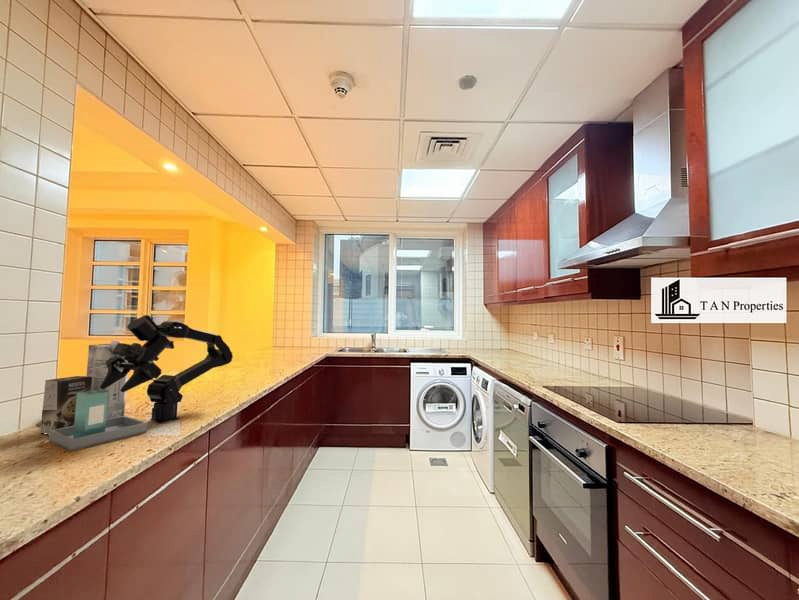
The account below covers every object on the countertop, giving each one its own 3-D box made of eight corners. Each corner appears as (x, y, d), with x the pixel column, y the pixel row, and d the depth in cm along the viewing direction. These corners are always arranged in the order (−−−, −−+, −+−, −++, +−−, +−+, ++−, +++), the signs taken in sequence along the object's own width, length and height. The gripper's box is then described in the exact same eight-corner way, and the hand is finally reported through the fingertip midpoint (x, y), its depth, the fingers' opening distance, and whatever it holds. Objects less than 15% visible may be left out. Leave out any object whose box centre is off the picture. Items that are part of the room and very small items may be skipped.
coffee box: (55, 436, 101) (60, 381, 102) (39, 434, 102) (43, 379, 103) (89, 427, 110) (93, 376, 111) (73, 425, 111) (77, 375, 112)
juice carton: (99, 425, 112) (105, 342, 113) (78, 421, 115) (84, 340, 116) (128, 418, 120) (134, 340, 121) (108, 415, 123) (113, 339, 125)
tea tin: (94, 434, 102) (97, 390, 103) (104, 437, 100) (108, 391, 101) (73, 439, 97) (76, 393, 98) (83, 442, 96) (87, 395, 96)
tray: (123, 424, 113) (124, 415, 113) (146, 432, 107) (147, 422, 107) (49, 441, 97) (49, 430, 97) (70, 451, 91) (71, 440, 91)
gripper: (114, 332, 113) (70, 371, 102) (154, 335, 107) (112, 376, 96) (137, 354, 120) (98, 392, 109) (176, 358, 114) (139, 399, 103)
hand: (111, 389), depth 104 cm, fingers open, 9 cm apart
